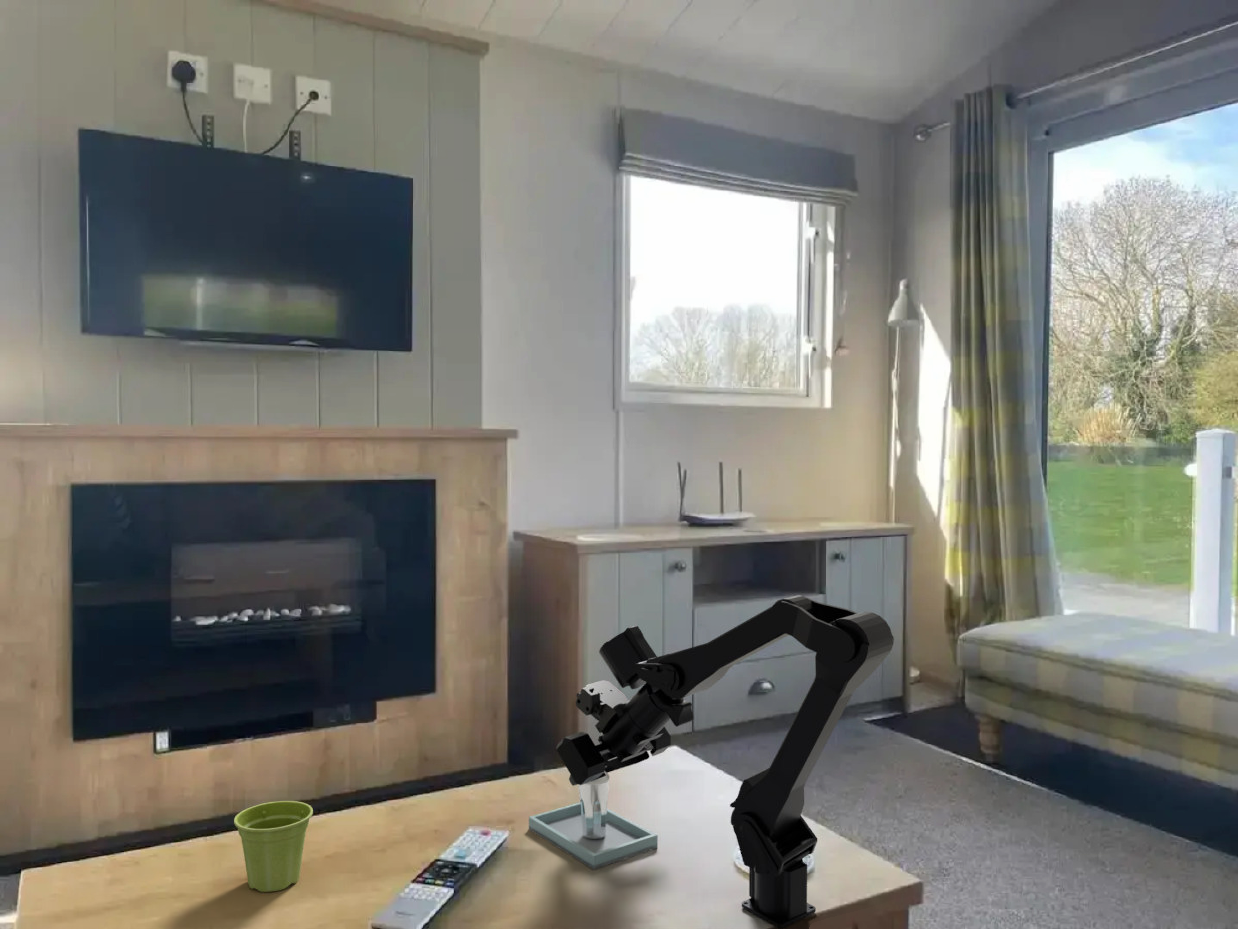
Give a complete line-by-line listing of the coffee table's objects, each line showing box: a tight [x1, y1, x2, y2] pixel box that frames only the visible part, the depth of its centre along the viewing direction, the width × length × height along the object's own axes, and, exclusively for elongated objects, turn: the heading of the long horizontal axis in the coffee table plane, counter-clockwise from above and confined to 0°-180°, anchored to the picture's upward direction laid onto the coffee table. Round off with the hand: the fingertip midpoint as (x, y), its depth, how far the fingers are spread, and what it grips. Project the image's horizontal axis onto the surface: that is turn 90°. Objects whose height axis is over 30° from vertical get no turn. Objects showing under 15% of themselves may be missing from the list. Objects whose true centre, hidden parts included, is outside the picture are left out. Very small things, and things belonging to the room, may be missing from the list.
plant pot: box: [233, 800, 314, 893], centre depth 117 cm, size 9×9×9 cm
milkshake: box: [577, 772, 611, 839], centre depth 131 cm, size 4×5×10 cm
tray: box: [528, 801, 659, 870], centre depth 131 cm, size 16×11×2 cm
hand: (585, 777), depth 131 cm, fingers open, 5 cm apart
